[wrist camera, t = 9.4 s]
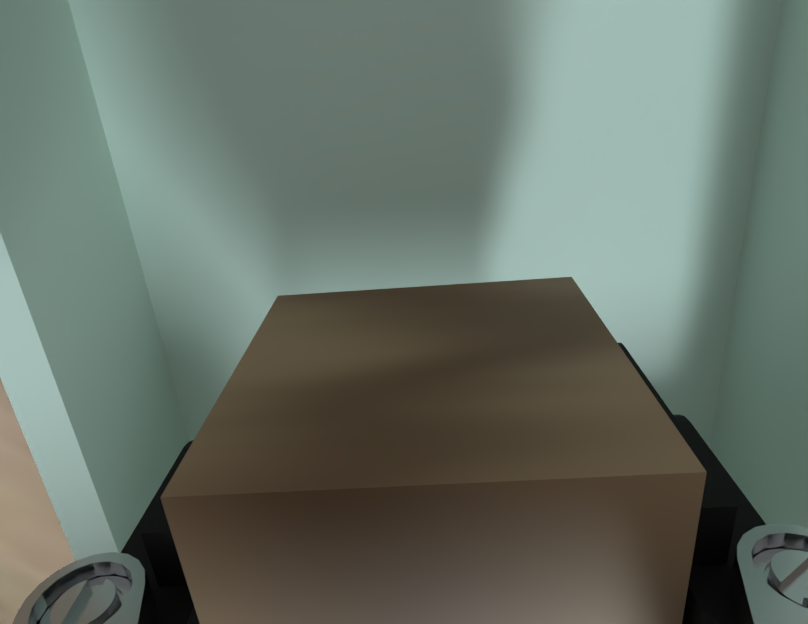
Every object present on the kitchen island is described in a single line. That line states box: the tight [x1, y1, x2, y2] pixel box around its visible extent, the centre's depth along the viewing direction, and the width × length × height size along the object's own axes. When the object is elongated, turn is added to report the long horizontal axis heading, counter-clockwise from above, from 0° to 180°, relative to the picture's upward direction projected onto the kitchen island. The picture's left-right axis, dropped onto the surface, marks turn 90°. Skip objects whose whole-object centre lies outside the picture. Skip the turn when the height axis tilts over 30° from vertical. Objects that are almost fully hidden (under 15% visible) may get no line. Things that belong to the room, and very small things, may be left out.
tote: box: [0, 0, 808, 561], centre depth 11 cm, size 16×24×5 cm, turn 5°
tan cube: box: [160, 277, 707, 624], centre depth 9 cm, size 5×5×5 cm
